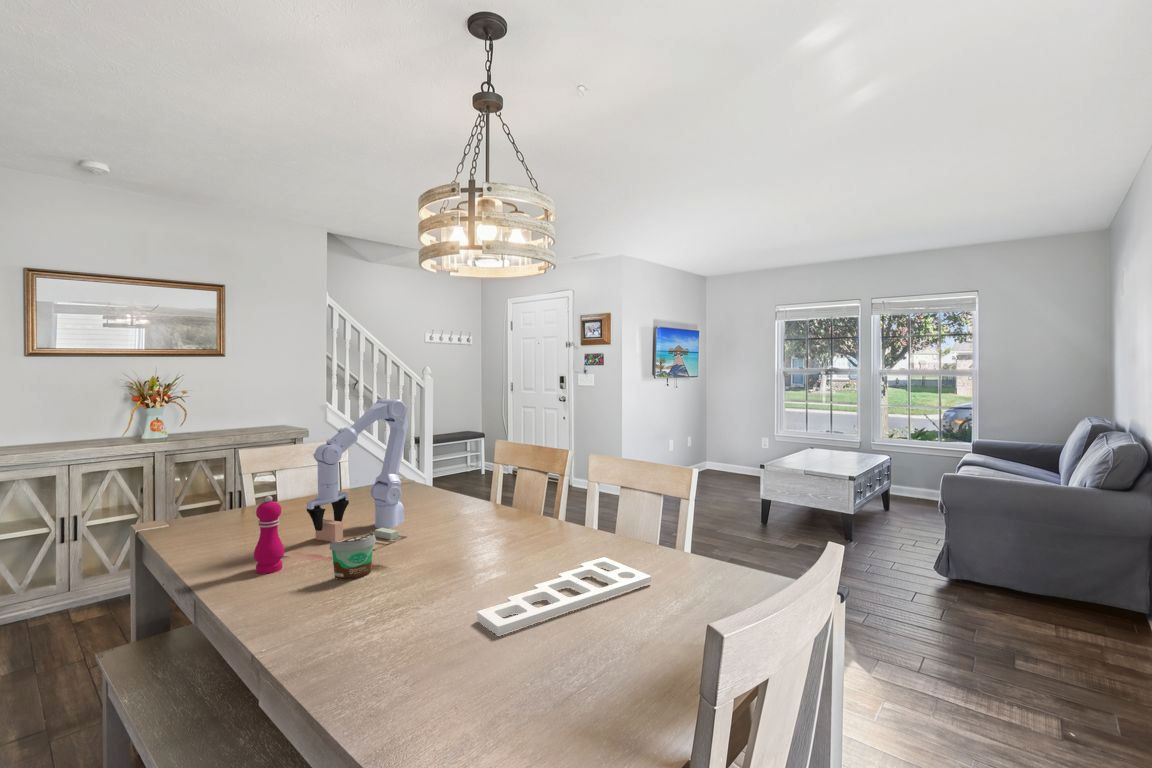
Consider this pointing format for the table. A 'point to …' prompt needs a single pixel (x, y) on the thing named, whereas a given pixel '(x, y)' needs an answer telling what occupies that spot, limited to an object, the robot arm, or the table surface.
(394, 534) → the upper offcut
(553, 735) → the table surface
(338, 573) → the food container
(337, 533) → the pink rectangular prism
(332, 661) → the table surface
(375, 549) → the rack
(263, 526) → the pepper mill
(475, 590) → the table surface
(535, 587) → the holder
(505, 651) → the table surface
